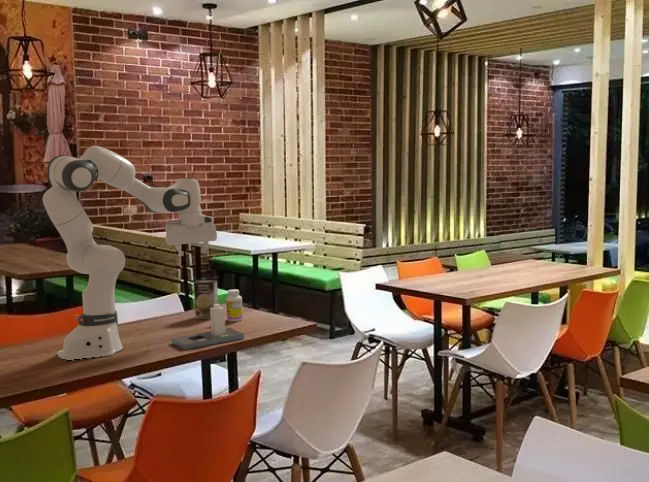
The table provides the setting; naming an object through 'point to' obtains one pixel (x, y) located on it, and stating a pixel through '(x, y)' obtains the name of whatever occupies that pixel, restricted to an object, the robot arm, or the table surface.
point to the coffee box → (205, 297)
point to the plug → (217, 320)
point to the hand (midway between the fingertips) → (192, 254)
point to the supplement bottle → (234, 306)
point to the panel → (206, 339)
